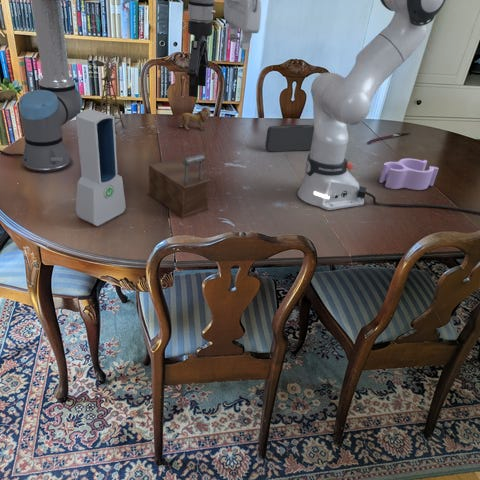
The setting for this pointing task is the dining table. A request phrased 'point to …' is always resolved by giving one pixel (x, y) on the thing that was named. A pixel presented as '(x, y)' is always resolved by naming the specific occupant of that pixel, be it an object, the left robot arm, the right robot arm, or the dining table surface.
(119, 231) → the dining table surface
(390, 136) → the sword
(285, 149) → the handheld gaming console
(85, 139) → the electronic device
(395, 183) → the clip
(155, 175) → the chest
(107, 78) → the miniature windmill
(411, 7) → the right robot arm
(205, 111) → the lion figurine
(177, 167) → the lid
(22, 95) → the left robot arm
